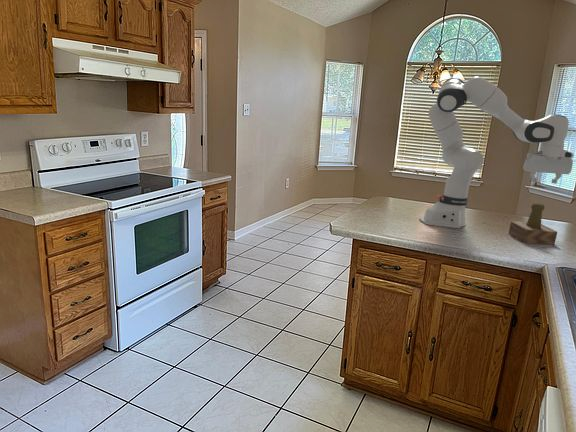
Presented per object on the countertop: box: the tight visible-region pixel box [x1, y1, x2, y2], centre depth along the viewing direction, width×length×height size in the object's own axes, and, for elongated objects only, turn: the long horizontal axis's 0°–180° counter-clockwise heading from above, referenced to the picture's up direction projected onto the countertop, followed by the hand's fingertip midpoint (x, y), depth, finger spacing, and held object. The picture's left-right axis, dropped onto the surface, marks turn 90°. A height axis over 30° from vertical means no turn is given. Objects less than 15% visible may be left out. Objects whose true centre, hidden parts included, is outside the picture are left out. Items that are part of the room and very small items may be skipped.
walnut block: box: [508, 221, 558, 245], centre depth 197 cm, size 14×14×6 cm
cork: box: [526, 202, 545, 228], centre depth 196 cm, size 6×6×11 cm
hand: (543, 182), depth 191 cm, fingers open, 8 cm apart
